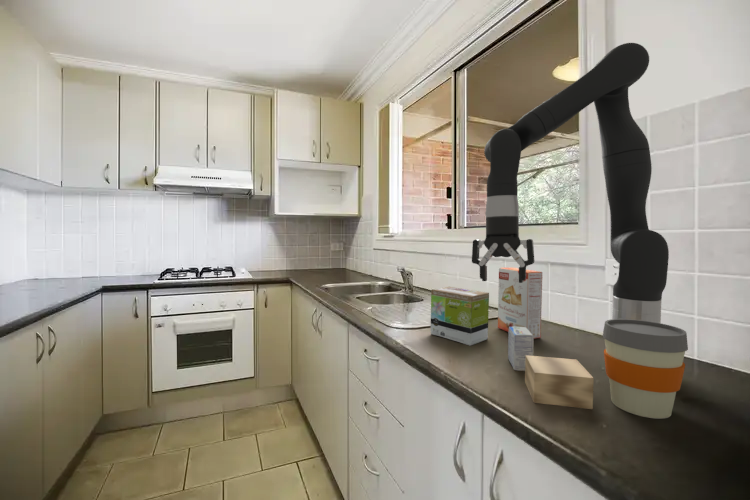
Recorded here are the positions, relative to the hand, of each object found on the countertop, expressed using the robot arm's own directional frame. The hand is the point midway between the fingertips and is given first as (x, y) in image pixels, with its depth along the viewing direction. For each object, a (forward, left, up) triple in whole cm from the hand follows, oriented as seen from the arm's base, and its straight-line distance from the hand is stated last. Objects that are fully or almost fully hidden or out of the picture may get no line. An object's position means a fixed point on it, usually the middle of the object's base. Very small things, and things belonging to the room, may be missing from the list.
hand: (502, 281), depth 87 cm
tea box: (+10, -21, -21) cm, 31 cm away
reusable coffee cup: (-22, +17, -21) cm, 35 cm away
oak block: (-8, +15, -21) cm, 27 cm away
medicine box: (-4, 0, -21) cm, 21 cm away
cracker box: (-9, -30, -21) cm, 37 cm away
